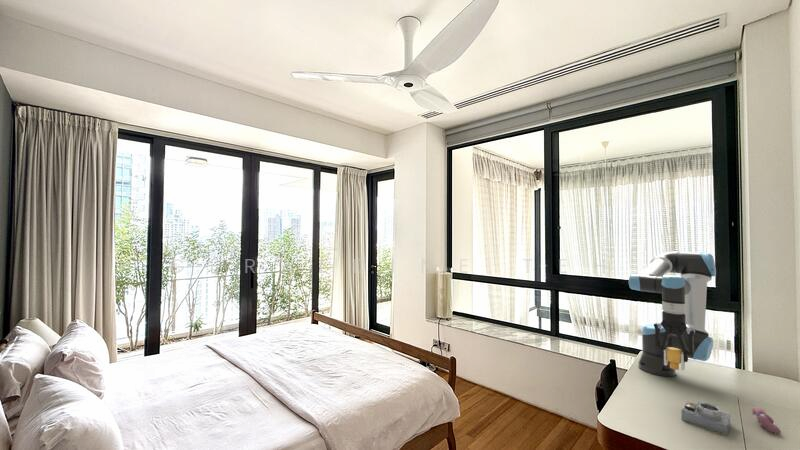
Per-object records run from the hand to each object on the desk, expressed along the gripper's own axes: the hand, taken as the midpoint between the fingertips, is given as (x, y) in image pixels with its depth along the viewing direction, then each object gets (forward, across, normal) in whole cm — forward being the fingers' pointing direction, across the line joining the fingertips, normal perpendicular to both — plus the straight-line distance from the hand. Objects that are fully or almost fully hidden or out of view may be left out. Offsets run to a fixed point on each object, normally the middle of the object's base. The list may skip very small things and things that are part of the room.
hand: (674, 366), depth 135 cm
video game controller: (+15, +25, +3) cm, 29 cm away
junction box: (+14, +11, -12) cm, 21 cm away
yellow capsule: (+1, 0, 0) cm, 1 cm away
